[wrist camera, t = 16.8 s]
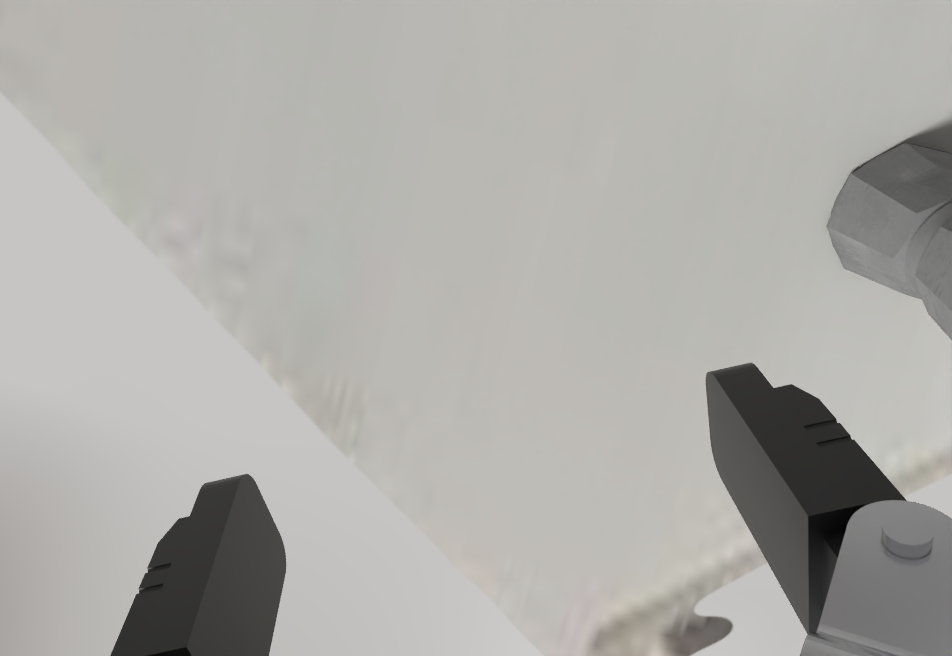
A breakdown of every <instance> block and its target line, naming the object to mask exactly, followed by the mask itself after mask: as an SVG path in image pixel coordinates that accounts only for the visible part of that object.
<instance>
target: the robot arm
mask: <svg viewBox="0 0 952 656" xmlns="http://www.w3.org/2000/svg"><path fill="white" fill-rule="evenodd" d="M706 392H707V403H708V415H709V427H710V439H711V447H712V453H713V457H714V461H715V464H716V467H717V470H718V472H719V475H720V477H721V479H722V481H723V483H724V485H725V487H726V488H727V490H728V492H729V494H730V496H731V497H732V499H733V501H734V503H735V505H736V506H737V508H738V510H739V512H740V514H741V515H742V517H743V519H744V521H745V522H746V524H747V526H748V528H749V530H750V531H751V533H752V535H753V537H754V539H755V540H756V542H757V544H758V546H759V548H760V549H761V551H762V553H763V555H764V557H765V558H766V560H767V562H768V564H769V566H770V567H771V569H772V571H773V573H774V574H775V576H776V578H777V580H778V581H779V583H780V585H781V587H782V589H783V591H784V592H785V594H786V596H787V598H788V599H789V601H790V603H791V605H792V607H793V608H794V610H795V612H796V614H797V616H798V618H799V619H800V621H801V623H802V625H803V627H804V628H805V630H806V632H807V634H808V635H807V637H806V639H805V642H804V644H803V647H802V651H801V654H800V656H952V519H951V518H950V517H948V516H947V515H945V514H944V513H942V512H940V511H938V510H936V509H934V508H931V507H929V506H926V505H923V504H919V503H915V502H909V501H906V499H905V498H904V497H903V496H902V495H901V494H900V492H899V491H898V490H897V489H896V488H895V487H894V485H893V484H892V483H891V482H890V481H889V480H888V479H887V477H886V476H885V475H884V474H883V473H882V472H881V470H880V469H879V468H878V467H877V466H876V465H875V463H874V462H873V461H872V460H871V459H870V458H869V456H868V455H867V454H866V453H865V452H864V451H863V450H862V448H861V447H860V446H859V445H858V444H857V443H856V441H855V440H852V439H851V437H850V434H849V433H848V432H847V431H846V430H845V429H844V428H843V426H842V425H841V424H840V423H837V421H836V418H835V417H834V416H833V415H832V414H831V412H830V411H829V410H828V409H827V408H826V407H825V405H824V404H823V403H822V402H821V401H820V400H819V399H818V398H816V397H814V396H812V395H811V394H809V393H807V392H805V391H803V390H801V389H799V388H797V387H796V386H794V385H792V384H791V385H786V386H782V387H777V388H773V387H772V386H771V384H770V383H769V382H768V381H767V379H766V378H765V377H764V376H763V374H762V373H761V372H760V370H759V369H758V368H757V367H756V366H755V365H754V364H753V363H747V364H743V365H738V366H734V367H729V368H725V369H720V370H716V371H711V372H708V373H707V375H706ZM285 573H286V555H285V549H284V545H283V541H282V538H281V536H280V533H279V531H278V529H277V527H276V525H275V523H274V521H273V518H272V516H271V514H270V512H269V510H268V508H267V506H266V504H265V501H264V500H263V497H262V495H261V493H260V491H259V489H258V487H257V484H256V482H255V481H254V479H253V478H252V477H251V476H250V475H248V474H245V475H240V476H236V477H231V478H226V479H222V480H218V481H213V482H209V483H205V484H204V485H203V486H202V487H201V489H200V492H199V494H198V497H197V499H196V502H195V504H194V507H193V510H192V512H191V515H190V516H189V517H185V518H180V519H178V520H177V522H176V523H175V524H174V525H173V526H172V528H171V529H170V530H169V531H168V532H167V533H166V534H165V536H164V537H163V538H162V539H161V540H160V542H159V543H158V544H157V547H156V549H155V552H154V554H153V556H152V559H151V561H150V563H149V566H148V573H146V574H145V575H144V578H143V580H142V582H141V585H140V587H139V594H136V596H135V599H134V601H133V604H132V606H131V608H130V611H129V613H128V616H127V618H126V620H125V623H124V625H123V628H122V630H121V632H120V634H119V637H118V639H117V641H116V644H115V646H114V649H113V651H112V653H111V656H269V652H270V646H271V642H272V637H273V632H274V627H275V622H276V617H277V612H278V608H279V602H280V598H281V593H282V588H283V583H284V577H285Z"/></svg>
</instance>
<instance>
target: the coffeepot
mask: <svg viewBox="0 0 952 656" xmlns="http://www.w3.org/2000/svg"><path fill="white" fill-rule="evenodd" d="M827 229H828V231H829V234H830V237H831V240H832V244H833V247H834V248H835V250H836V252H837V254H838V256H839V258H840V260H841V263H842V265H843V268H845V269H847V270H849V271H852V272H854V273H856V274H859V275H861V276H863V277H866V278H868V279H870V280H873V281H875V282H877V283H880V284H882V285H884V286H887V287H889V288H891V289H894V290H896V291H898V292H901V293H903V294H906V295H909V296H912V297H915V298H919V299H922V300H923V303H924V305H925V307H926V309H927V312H928V314H929V315H930V316H931V317H932V318H933V320H934V321H935V322H936V323H937V324H938V325H939V326H940V327H941V329H942V330H943V331H944V332H945V333H946V334H947V335H948V337H949V338H950V339H951V340H952V154H950V153H946V152H942V151H938V150H934V149H930V148H926V147H920V146H916V145H912V144H908V143H904V144H902V145H900V146H898V147H896V148H893V149H891V150H889V151H887V152H885V153H883V154H881V155H879V156H877V157H875V158H873V159H872V160H870V161H869V162H867V163H866V164H864V165H863V166H862V167H861V168H860V169H858V170H857V171H855V172H853V173H851V174H850V176H849V178H848V179H847V181H846V183H845V184H844V186H843V188H842V189H841V191H840V193H839V195H838V196H837V198H836V201H835V203H834V206H833V209H832V212H831V218H830V220H829V222H828V224H827Z"/></svg>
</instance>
